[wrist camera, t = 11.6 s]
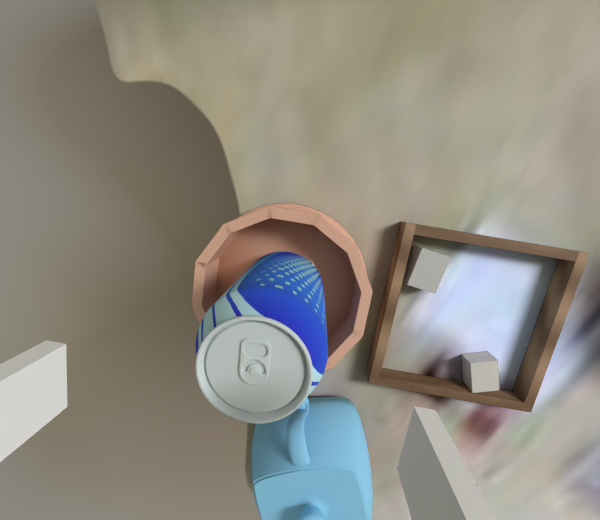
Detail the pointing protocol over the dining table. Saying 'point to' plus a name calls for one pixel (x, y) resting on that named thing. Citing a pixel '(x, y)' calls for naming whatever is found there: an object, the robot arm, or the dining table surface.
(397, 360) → the dining table surface
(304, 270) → the beer can
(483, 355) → the stone
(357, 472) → the teapot
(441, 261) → the stone
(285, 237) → the dish
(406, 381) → the tray
